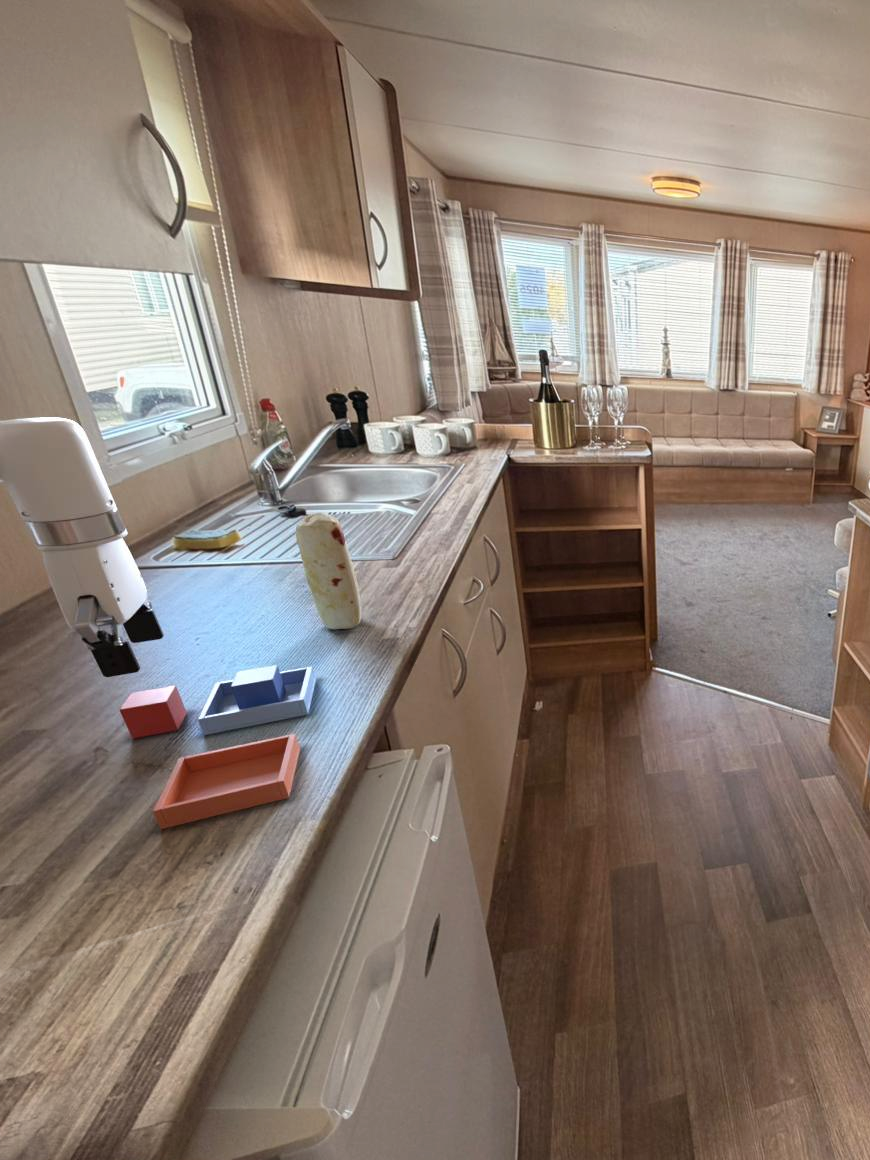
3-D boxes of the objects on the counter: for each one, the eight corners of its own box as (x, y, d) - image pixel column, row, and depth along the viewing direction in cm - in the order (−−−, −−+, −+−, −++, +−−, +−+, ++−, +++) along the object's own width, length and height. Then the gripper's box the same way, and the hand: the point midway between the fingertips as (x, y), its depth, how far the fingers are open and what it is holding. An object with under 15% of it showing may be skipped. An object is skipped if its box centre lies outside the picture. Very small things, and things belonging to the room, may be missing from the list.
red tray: (160, 829, 69) (152, 811, 68) (185, 774, 77) (178, 757, 76) (289, 797, 74) (283, 780, 73) (300, 749, 82) (295, 733, 81)
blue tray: (203, 735, 84) (197, 719, 83) (221, 697, 92) (215, 682, 91) (308, 714, 89) (303, 699, 88) (316, 680, 97) (311, 666, 96)
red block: (132, 739, 82) (118, 709, 80) (143, 721, 86) (130, 692, 84) (178, 730, 84) (166, 701, 83) (187, 712, 88) (175, 685, 86)
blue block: (240, 714, 87) (230, 686, 86) (247, 698, 91) (237, 671, 89) (281, 706, 89) (272, 679, 88) (286, 691, 93) (277, 664, 91)
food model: (376, 625, 114) (349, 518, 106) (332, 637, 109) (301, 526, 101) (355, 609, 120) (329, 506, 112) (313, 620, 115) (283, 513, 107)
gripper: (64, 512, 79) (120, 634, 86) (-7, 556, 66) (67, 696, 73) (144, 506, 83) (192, 623, 90) (94, 546, 69) (154, 681, 76)
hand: (136, 656), depth 81 cm, fingers open, 9 cm apart
